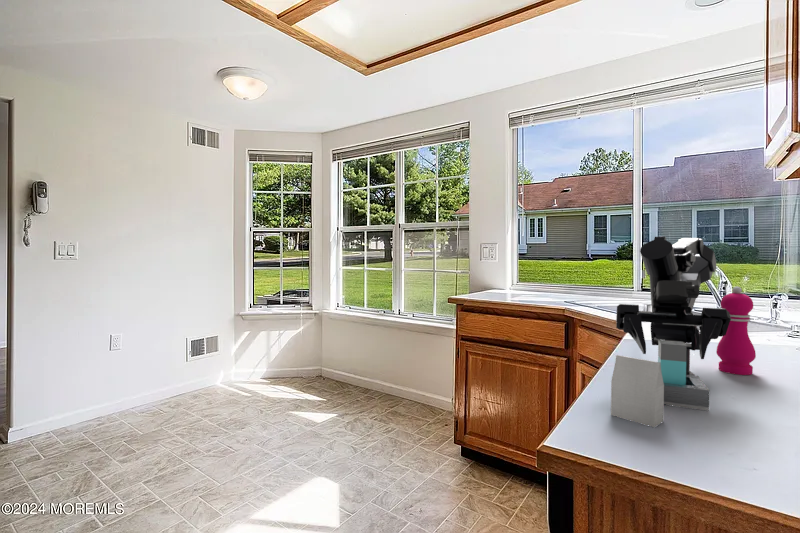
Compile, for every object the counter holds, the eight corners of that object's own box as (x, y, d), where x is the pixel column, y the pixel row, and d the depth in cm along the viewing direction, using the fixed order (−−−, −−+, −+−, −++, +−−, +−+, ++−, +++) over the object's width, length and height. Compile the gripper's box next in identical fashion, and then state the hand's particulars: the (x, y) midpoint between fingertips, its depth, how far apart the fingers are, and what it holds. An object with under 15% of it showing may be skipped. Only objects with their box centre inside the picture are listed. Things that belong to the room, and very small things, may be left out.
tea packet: (654, 427, 67) (655, 364, 67) (610, 415, 72) (611, 356, 72) (663, 421, 69) (664, 361, 69) (620, 410, 75) (621, 353, 74)
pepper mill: (747, 369, 102) (748, 285, 101) (761, 377, 95) (763, 288, 94) (711, 366, 104) (713, 285, 104) (722, 374, 97) (724, 287, 97)
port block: (639, 387, 87) (639, 369, 87) (697, 394, 83) (698, 375, 83) (643, 402, 78) (643, 382, 78) (709, 410, 74) (709, 390, 74)
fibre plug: (657, 390, 83) (658, 339, 83) (681, 393, 82) (682, 341, 82) (660, 396, 80) (661, 343, 80) (685, 399, 78) (686, 345, 78)
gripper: (617, 264, 88) (618, 326, 78) (729, 266, 80) (745, 334, 70) (616, 299, 95) (616, 359, 85) (718, 303, 87) (731, 370, 77)
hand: (673, 355), depth 79 cm, fingers open, 9 cm apart
